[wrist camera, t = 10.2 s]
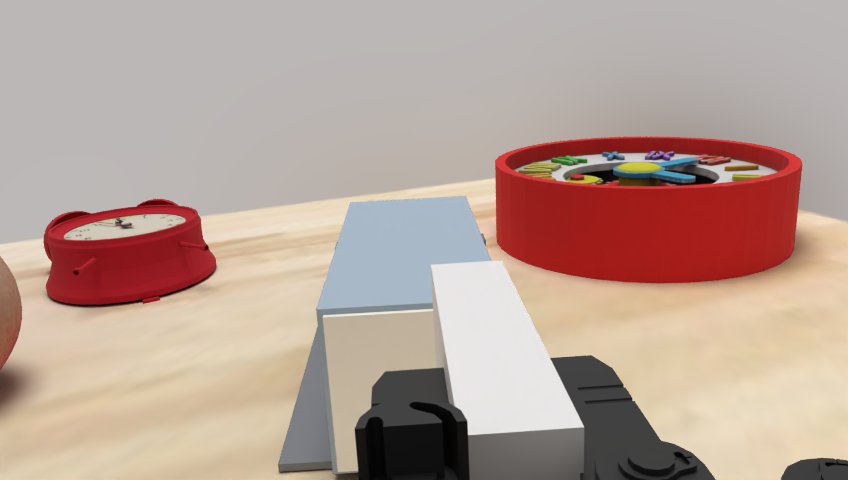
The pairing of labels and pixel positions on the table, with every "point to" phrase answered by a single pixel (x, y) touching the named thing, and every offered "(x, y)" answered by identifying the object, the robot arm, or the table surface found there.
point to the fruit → (8, 312)
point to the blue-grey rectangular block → (384, 301)
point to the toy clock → (648, 208)
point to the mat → (310, 420)
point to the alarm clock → (126, 253)
